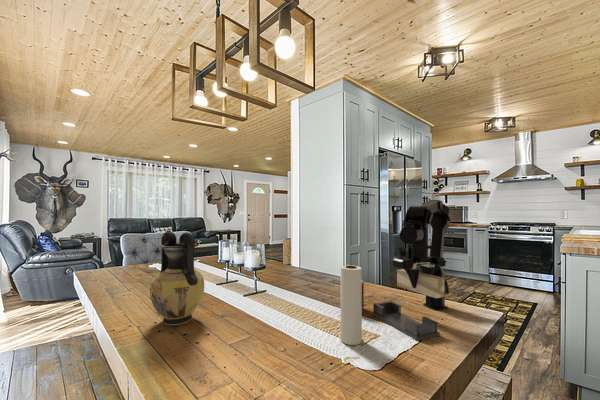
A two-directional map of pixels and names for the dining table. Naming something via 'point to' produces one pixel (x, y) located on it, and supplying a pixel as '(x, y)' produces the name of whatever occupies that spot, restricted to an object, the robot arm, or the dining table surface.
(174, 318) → the amphora
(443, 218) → the robot arm
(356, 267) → the paper towel roll
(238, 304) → the dining table surface
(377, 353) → the dining table surface
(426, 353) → the dining table surface
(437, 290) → the beige rectangular block
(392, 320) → the bracket
